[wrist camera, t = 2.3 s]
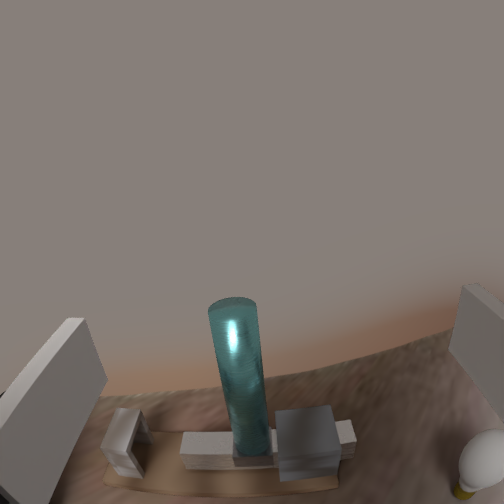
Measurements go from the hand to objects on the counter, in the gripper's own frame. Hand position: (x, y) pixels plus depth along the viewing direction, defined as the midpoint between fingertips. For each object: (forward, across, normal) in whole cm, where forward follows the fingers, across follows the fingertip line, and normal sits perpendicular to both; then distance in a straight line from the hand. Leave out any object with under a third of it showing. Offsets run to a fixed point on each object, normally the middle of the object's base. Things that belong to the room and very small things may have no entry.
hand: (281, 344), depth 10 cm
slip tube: (+13, -1, -25) cm, 28 cm away
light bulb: (+3, +19, -26) cm, 33 cm away
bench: (+13, -7, -26) cm, 30 cm away
